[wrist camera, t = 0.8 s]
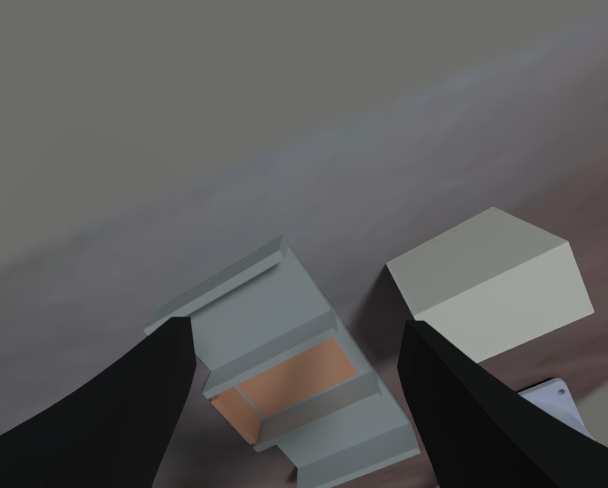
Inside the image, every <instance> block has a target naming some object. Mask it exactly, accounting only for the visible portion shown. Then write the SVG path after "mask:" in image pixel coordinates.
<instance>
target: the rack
mask: <svg viewBox="0 0 608 488" xmlns="http://www.w3.org/2000/svg"><path fill="white" fill-rule="evenodd" d="M171 317H191V325H192V333H193V341H194V349H195V354H196V355H197V356H198V358H199V359H200V360H201V361H202V362H203V363H204V364H205V365H206V366H207V368H208V369H209V370H210V371H211V373H210V375H209V378H208V380H207V382H206V385H205V387H204V390H203V392H202V394H203V395H204V396H205V397H206V398H207V399H209V398H211V397H212V399H211V402H210V403H211V404H212V405H213V406H214V407H215V408H216V409H217V410H218V411H219V412H220V413H221V414H222V415H223V416H224V418H225V419H226V420H227V421H228V422H229V423H230V424H231V425H232V426H233V427H234V428H235V429H236V430H237V431H238V433H239V434H240V435H241V436H242V437H243V438H244V439H245V440H246V441H247V442H248V443H249V444H250V445H251V444H253V449H254V450H255V451H256V452H257V453H258V452H261V451H263V450H265V449H267V448H270V447H272V446H274V445H277V446H278V447H279V448H280V449H281V450H282V451H283V452H284V454H285V455H286V456H287V457H288V458H289V459H290V460H291V461H292V462H293V464H294V465H295V466H296V467H297V468H298V473H297V488H331V487H334V486H336V485H339V484H341V483H344V482H347V481H349V480H352V479H354V478H357V477H360V476H362V475H365V474H367V473H370V472H373V471H375V470H378V469H381V468H383V467H386V466H388V465H391V464H394V463H396V462H399V461H401V460H404V459H407V458H409V457H412V456H414V455H417V454H420V453H421V452H420V449H419V446H418V443H417V440H416V437H415V434H414V431H413V428H412V425H411V422H410V420H409V419H408V417H407V416H406V415H405V413H404V412H403V410H402V409H401V407H400V406H399V404H398V403H397V401H396V400H395V398H394V397H393V396H392V394H391V393H390V391H389V390H388V388H387V387H386V385H385V384H384V382H383V381H382V379H381V378H380V377H379V375H378V374H377V372H376V371H375V369H374V368H373V366H372V365H371V363H370V362H369V360H368V359H367V357H366V356H365V355H364V353H363V352H362V350H361V349H360V347H359V346H358V344H357V343H356V341H355V340H354V338H353V337H352V336H351V334H350V333H349V331H348V330H347V328H346V327H345V325H344V324H343V322H342V321H341V319H340V318H339V316H338V315H337V314H336V312H335V311H334V309H333V308H332V306H331V305H330V303H329V302H328V300H327V299H326V297H325V296H324V295H323V293H322V292H321V290H320V289H319V287H318V286H317V284H316V283H315V281H314V280H313V278H312V277H311V275H310V274H309V273H308V271H307V270H306V268H305V267H304V265H303V264H302V262H301V261H300V259H299V258H298V256H297V255H296V254H295V252H294V251H293V249H292V248H291V246H290V245H289V243H288V242H287V240H286V239H285V237H284V236H281V237H279V238H278V239H276V240H274V241H273V242H271V243H269V244H268V245H266V246H264V247H263V248H261V249H259V250H258V251H256V252H254V253H253V254H251V255H249V256H247V257H246V258H244V259H242V260H241V261H239V262H237V263H236V264H234V265H232V266H231V267H229V268H227V269H226V270H224V271H222V272H221V273H219V274H217V275H216V276H214V277H212V278H211V279H209V280H207V281H205V282H204V283H202V284H200V285H199V286H197V287H195V288H194V289H192V290H190V291H189V292H187V293H185V294H184V295H182V296H180V297H179V298H177V299H175V300H174V301H172V302H170V303H168V304H167V305H165V306H163V307H162V308H161V309H160V310H159V311H158V312H157V313H156V315H155V316H154V317H153V318H152V319H151V321H150V322H149V323H148V324H147V325H146V327H145V328H144V329H143V331H144V332H145V333H146V334H147V335H148V336H149V335H150V334H151V333H152V332H153V331H155V330H156V329H157V328H158V327H159V326H161V325H162V324H163V323H164V322H166V321H167V320H168V319H169V318H171Z"/></svg>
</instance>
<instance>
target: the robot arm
mask: <svg viewBox="0 0 608 488" xmlns="http://www.w3.org/2000/svg"><path fill="white" fill-rule="evenodd" d="M195 369H196V357H195V349H194V341H193V333H192V325H191V317H171V318H169V319H168V320H167V321H166V322H164V323H163V324H162V325H161V326H159V327H158V328H157V329H156V330H155V331H153V332H152V333H151V334H150V335H149V336H147V337H146V338H145V339H144V340H142V341H141V342H140V343H139V344H137V345H136V346H135V347H134V348H133V349H131V350H130V351H129V352H128V353H126V354H125V355H124V356H123V357H121V358H120V359H119V360H117V361H116V362H115V363H113V364H112V365H110V366H109V367H108V368H106V369H105V370H104V371H102V372H101V373H100V374H98V375H97V376H96V377H94V378H93V379H92V380H90V381H89V382H87V383H86V384H84V385H83V386H82V387H80V388H79V389H77V390H76V391H74V392H73V393H71V394H70V395H68V396H66V397H65V398H63V399H62V400H60V401H59V402H57V403H55V404H54V405H52V406H51V407H49V408H47V409H46V410H44V411H43V412H41V413H39V414H37V415H36V416H34V417H32V418H30V419H29V420H27V421H25V422H23V423H22V424H20V425H18V426H16V427H15V428H13V429H11V430H9V431H7V432H6V433H4V434H2V435H0V488H151V487H152V484H153V481H154V479H155V476H156V473H157V471H158V468H159V465H160V463H161V460H162V458H163V456H164V453H165V451H166V448H167V446H168V443H169V441H170V439H171V436H172V434H173V431H174V429H175V426H176V424H177V422H178V419H179V417H180V414H181V412H182V409H183V407H184V404H185V402H186V399H187V397H188V394H189V391H190V387H191V384H192V380H193V376H194V373H195ZM397 369H398V373H399V377H400V381H401V385H402V388H403V392H404V396H405V398H406V401H407V404H408V406H409V409H410V411H411V414H412V416H413V419H414V422H415V424H416V426H417V429H418V431H419V434H420V436H421V439H422V441H423V444H424V446H425V449H426V451H427V454H428V456H429V459H430V461H431V464H432V466H433V469H434V472H435V475H436V477H437V480H438V483H439V486H440V488H608V448H607V447H606V446H604V445H602V444H600V443H598V442H597V441H596V440H595V439H594V438H593V437H592V436H591V435H590V434H589V432H588V431H587V430H586V428H585V426H584V424H583V422H582V419H581V417H580V415H579V413H578V410H577V408H576V406H575V404H574V401H573V399H572V397H571V395H570V392H569V390H568V388H567V386H566V384H565V383H564V382H563V380H562V379H560V378H554V379H551V380H549V381H546V382H544V383H541V384H539V385H536V386H534V387H531V388H529V389H526V390H524V391H521V392H519V393H516V392H515V391H513V390H512V389H510V388H509V387H508V386H506V385H505V384H504V383H502V382H501V381H499V380H498V379H497V378H495V377H494V376H493V375H491V374H490V373H489V372H487V371H486V370H485V369H483V368H482V367H481V366H479V365H478V364H477V363H476V362H474V361H473V360H472V359H471V358H469V357H468V356H467V355H466V354H464V353H463V352H462V351H461V350H460V349H458V348H457V347H456V346H455V345H454V344H452V343H451V342H450V341H449V340H448V339H446V338H445V337H444V336H443V335H442V334H440V333H439V332H438V331H437V330H435V329H434V328H433V327H432V326H431V325H429V324H428V323H427V322H425V321H423V320H406V324H405V329H404V334H403V339H402V344H401V349H400V354H399V360H398V365H397Z"/></svg>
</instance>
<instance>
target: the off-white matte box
mask: <svg viewBox="0 0 608 488" xmlns="http://www.w3.org/2000/svg"><path fill="white" fill-rule="evenodd" d="M386 265H387V267H388V269H389V271H390V273H391V275H392V276H393V278H394V280H395V282H396V284H397V286H398V288H399V290H400V292H401V294H402V296H403V298H404V300H405V301H406V303H407V305H408V307H409V309H410V311H411V313H412V315H413V317H414V318H415V320H423V321H425V322H427V323H428V324H429V325H431V326H432V327H433V328H434V329H435V330H437V331H438V332H439V333H440V334H442V335H443V336H444V337H445V338H446V339H448V340H449V341H450V342H451V343H452V344H454V345H455V346H456V347H457V348H458V349H460V350H461V351H462V352H463V353H464V354H466V355H467V356H468V357H469V358H471V359H472V360H473V361H474V362H476V363H478V362H481V361H483V360H485V359H488V358H490V357H492V356H495V355H497V354H499V353H502V352H504V351H506V350H509V349H511V348H513V347H515V346H518V345H520V344H522V343H525V342H527V341H529V340H532V339H534V338H536V337H539V336H541V335H543V334H546V333H548V332H550V331H553V330H555V329H557V328H560V327H562V326H564V325H567V324H569V323H571V322H574V321H576V320H578V319H581V318H583V317H585V316H587V315H590V314H592V313H594V310H593V307H592V304H591V302H590V299H589V296H588V294H587V291H586V288H585V286H584V283H583V280H582V277H581V275H580V272H579V269H578V267H577V264H576V261H575V259H574V256H573V253H572V251H571V248H570V245H569V242H568V241H566V240H564V239H562V238H560V237H558V236H555V235H553V234H551V233H549V232H547V231H545V230H542V229H540V228H538V227H536V226H534V225H532V224H529V223H527V222H525V221H523V220H521V219H519V218H516V217H514V216H512V215H510V214H508V213H506V212H503V211H501V210H499V209H497V208H495V207H491V208H489V209H488V210H486V211H484V212H482V213H480V214H478V215H476V216H474V217H472V218H471V219H469V220H467V221H465V222H463V223H461V224H459V225H457V226H455V227H454V228H452V229H450V230H448V231H446V232H444V233H442V234H440V235H438V236H437V237H435V238H433V239H431V240H429V241H427V242H425V243H423V244H422V245H420V246H418V247H416V248H414V249H412V250H410V251H408V252H406V253H405V254H403V255H401V256H399V257H397V258H395V259H393V260H391V261H389V262H388V263H386Z"/></svg>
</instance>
